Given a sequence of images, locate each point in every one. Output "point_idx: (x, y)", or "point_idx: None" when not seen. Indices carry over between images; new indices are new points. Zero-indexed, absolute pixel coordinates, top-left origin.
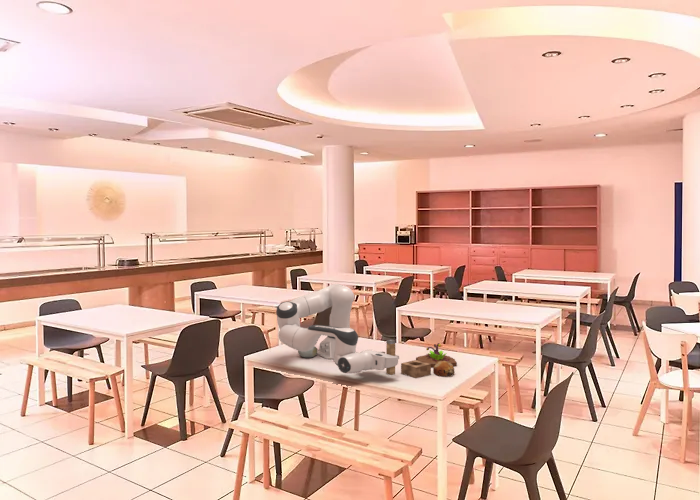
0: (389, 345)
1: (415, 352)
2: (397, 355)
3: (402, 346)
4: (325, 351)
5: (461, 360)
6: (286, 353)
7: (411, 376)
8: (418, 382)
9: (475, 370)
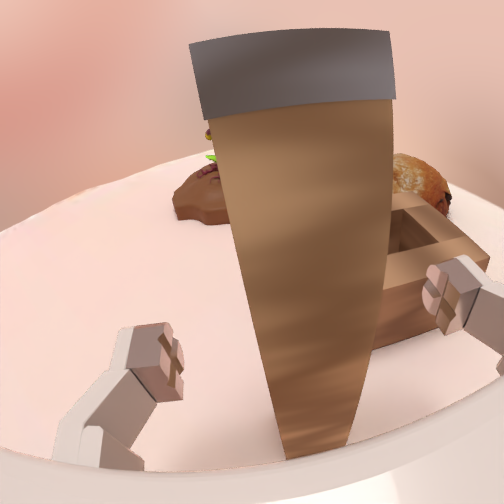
0: (344, 150)
1: (114, 200)
2: (459, 262)
3: (59, 209)
4: None
5: None
6: None
7: (437, 326)
8: None
9: None
